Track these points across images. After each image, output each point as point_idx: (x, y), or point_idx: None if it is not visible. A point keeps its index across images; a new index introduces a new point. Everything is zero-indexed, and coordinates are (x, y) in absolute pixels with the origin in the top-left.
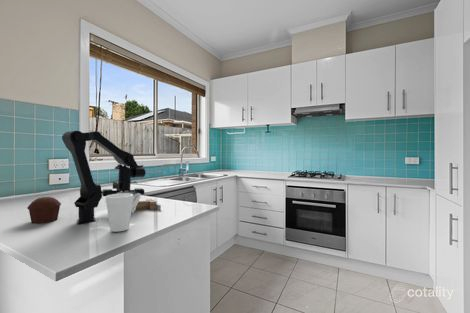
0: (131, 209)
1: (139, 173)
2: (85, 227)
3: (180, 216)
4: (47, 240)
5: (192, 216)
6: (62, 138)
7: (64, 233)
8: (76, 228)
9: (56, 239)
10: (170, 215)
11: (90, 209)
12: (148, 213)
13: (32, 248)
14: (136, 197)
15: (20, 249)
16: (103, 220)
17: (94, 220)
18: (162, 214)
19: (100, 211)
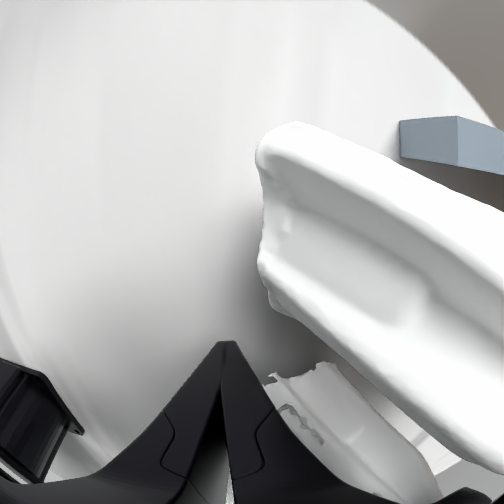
0: (315, 433)
1: None
2: (90, 461)
3: (443, 463)
4: (60, 468)
5: (459, 460)
6: None
7: (63, 460)
8: (66, 450)
9: (75, 475)
10: (437, 455)
11: (43, 476)
12: (406, 424)
13: (66, 478)
14: (438, 498)
15: (50, 469)
16: (118, 441)
17: (76, 429)
18: (432, 444)
19: (7, 136)
